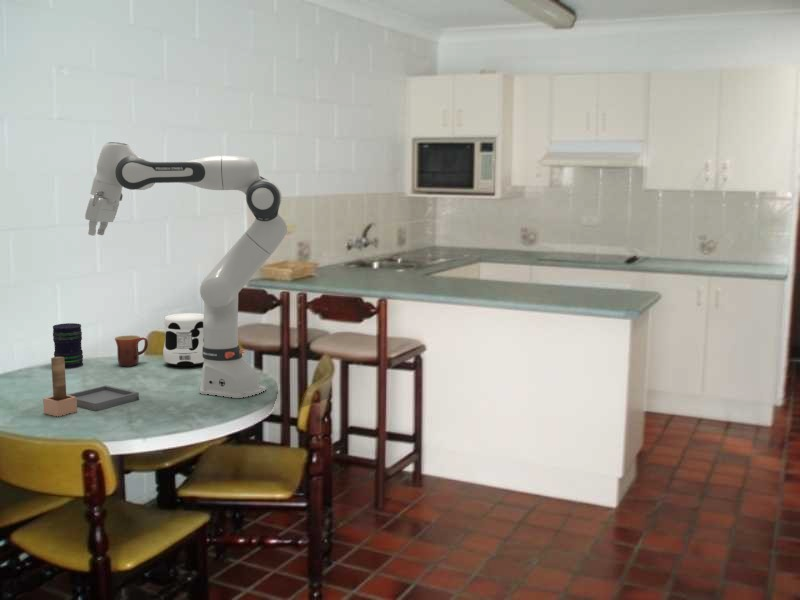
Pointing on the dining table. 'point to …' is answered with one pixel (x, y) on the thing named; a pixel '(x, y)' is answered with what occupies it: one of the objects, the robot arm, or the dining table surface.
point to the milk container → (184, 339)
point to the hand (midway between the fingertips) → (95, 235)
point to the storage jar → (68, 344)
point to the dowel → (58, 378)
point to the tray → (104, 397)
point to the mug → (129, 349)
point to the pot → (60, 406)
